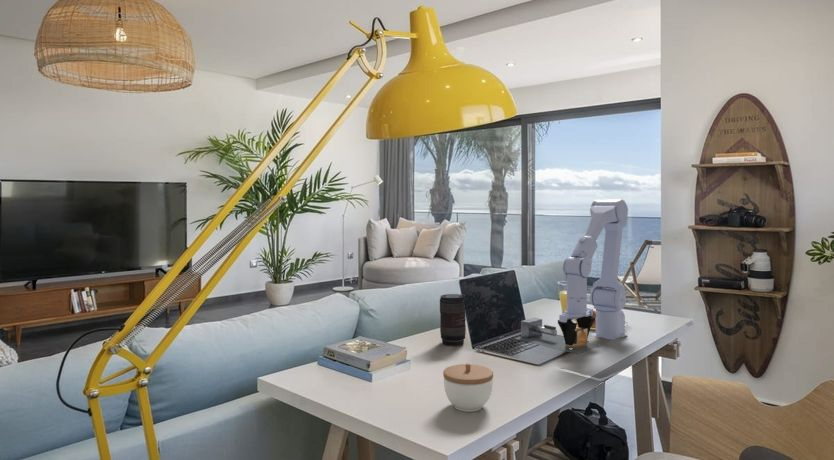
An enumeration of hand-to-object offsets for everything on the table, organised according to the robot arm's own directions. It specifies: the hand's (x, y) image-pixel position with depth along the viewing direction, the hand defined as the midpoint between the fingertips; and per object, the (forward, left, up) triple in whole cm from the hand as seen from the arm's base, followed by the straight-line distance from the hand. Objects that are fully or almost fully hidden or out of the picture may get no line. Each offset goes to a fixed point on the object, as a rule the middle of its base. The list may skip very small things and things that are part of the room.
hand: (576, 342), depth 161 cm
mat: (0, -7, -2) cm, 7 cm away
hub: (0, 0, -1) cm, 1 cm away
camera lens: (+23, -29, -2) cm, 37 cm away
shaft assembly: (0, -13, -1) cm, 13 cm away
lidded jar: (+56, +10, -2) cm, 57 cm away
